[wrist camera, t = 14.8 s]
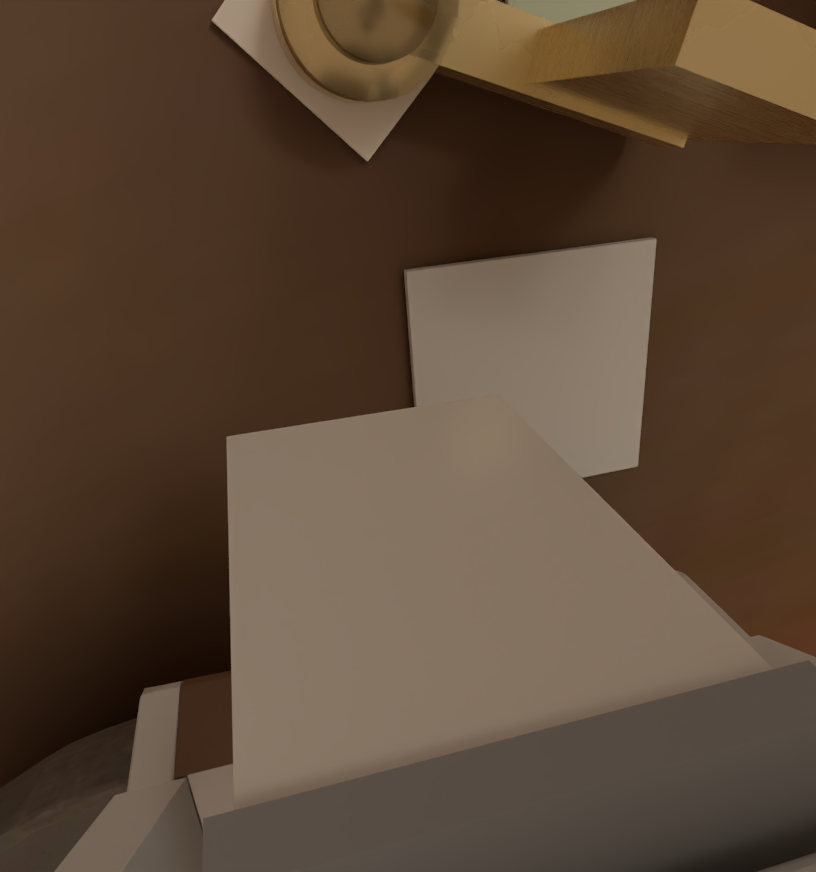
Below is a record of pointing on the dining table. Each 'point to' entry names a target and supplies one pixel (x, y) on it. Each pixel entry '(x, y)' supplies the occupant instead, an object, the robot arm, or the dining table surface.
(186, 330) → the dining table surface
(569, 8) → the marks
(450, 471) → the grey rectangular block
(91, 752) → the bowl
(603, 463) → the mat
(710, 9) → the gold angular piece
